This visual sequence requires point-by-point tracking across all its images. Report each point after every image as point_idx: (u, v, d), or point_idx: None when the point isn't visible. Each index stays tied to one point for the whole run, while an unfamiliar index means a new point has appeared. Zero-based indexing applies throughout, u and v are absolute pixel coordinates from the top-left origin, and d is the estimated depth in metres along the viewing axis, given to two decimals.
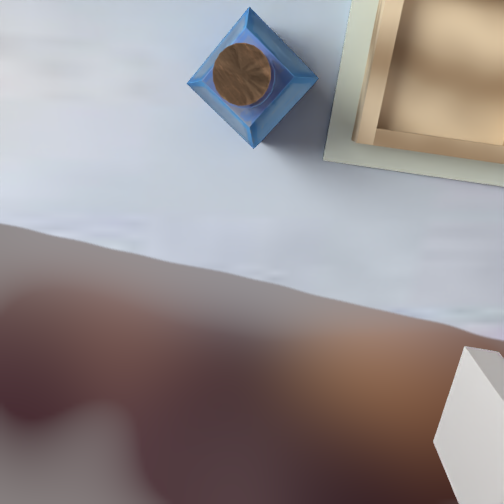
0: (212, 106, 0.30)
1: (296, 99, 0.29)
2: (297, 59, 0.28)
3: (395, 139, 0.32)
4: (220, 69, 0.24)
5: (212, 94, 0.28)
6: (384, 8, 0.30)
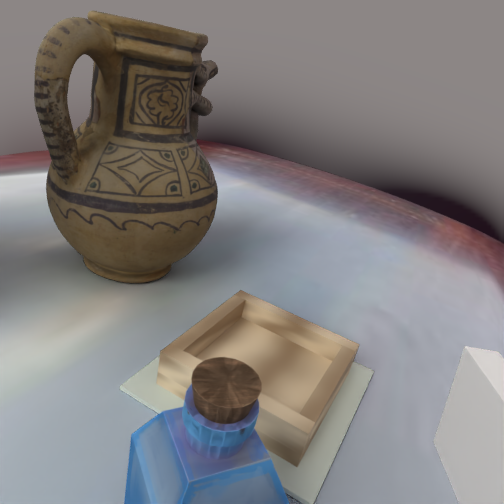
0: None
1: None
2: None
3: (314, 405, 0.31)
4: (210, 394, 0.19)
5: (209, 485, 0.19)
6: None
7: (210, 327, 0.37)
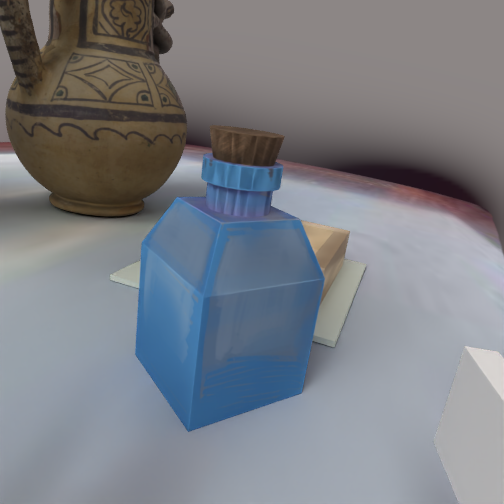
0: (252, 280, 0.18)
1: None
2: None
3: (320, 259, 0.30)
4: (234, 131, 0.18)
5: (242, 233, 0.18)
6: None
7: None
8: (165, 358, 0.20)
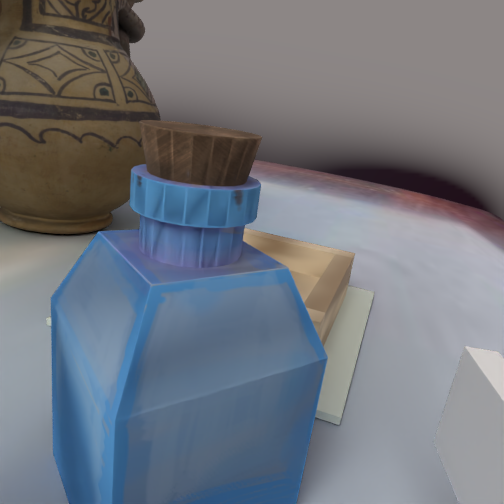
0: (208, 376, 0.11)
1: None
2: None
3: (319, 298, 0.23)
4: (175, 128, 0.11)
5: (190, 298, 0.10)
6: None
7: None
8: (79, 483, 0.13)
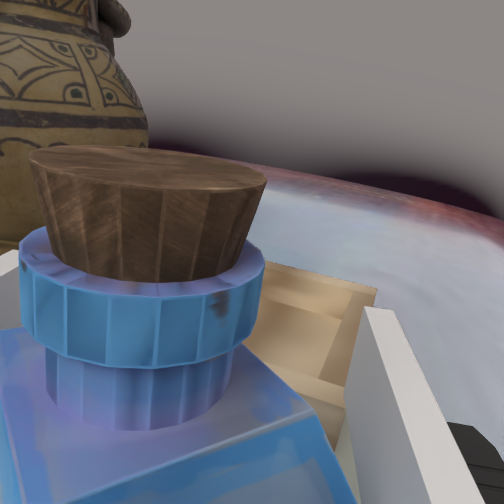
0: None
1: None
2: None
3: (340, 364, 0.18)
4: (91, 169, 0.05)
5: None
6: None
7: None
8: None
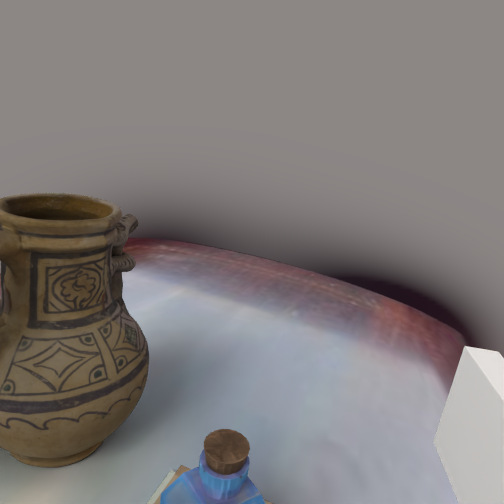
0: None
1: None
2: None
3: None
4: (218, 456, 0.29)
5: None
6: None
7: None
8: None
